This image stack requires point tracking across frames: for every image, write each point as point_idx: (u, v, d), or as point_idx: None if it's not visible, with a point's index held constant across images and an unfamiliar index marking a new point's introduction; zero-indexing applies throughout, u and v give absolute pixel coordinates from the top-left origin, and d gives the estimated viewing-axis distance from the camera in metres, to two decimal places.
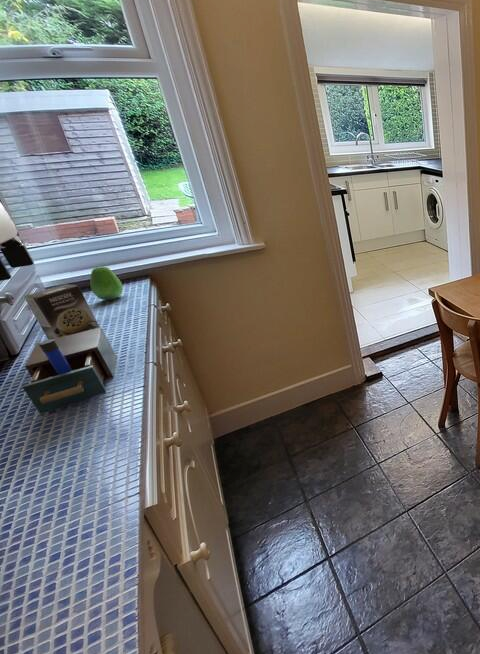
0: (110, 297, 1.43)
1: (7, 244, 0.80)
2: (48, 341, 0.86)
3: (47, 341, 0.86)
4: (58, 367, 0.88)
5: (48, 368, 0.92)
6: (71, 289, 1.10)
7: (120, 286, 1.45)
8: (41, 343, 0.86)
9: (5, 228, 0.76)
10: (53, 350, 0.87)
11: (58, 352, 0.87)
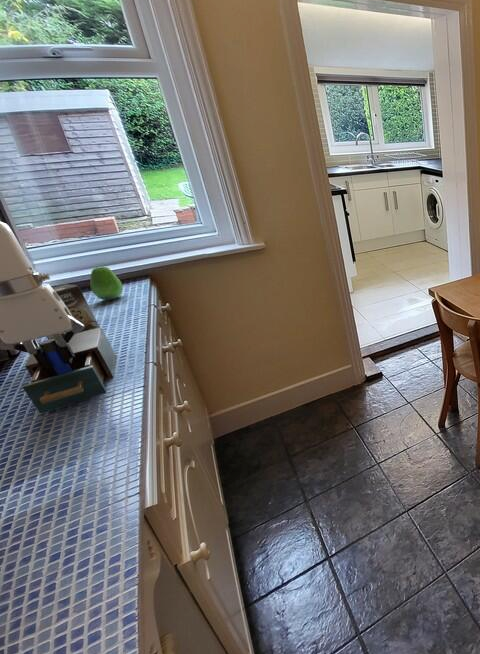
0: (110, 297, 1.43)
1: None
2: (48, 341, 0.86)
3: (47, 341, 0.86)
4: (58, 367, 0.88)
5: None
6: (71, 289, 1.10)
7: (120, 286, 1.45)
8: (41, 343, 0.86)
9: (37, 328, 0.83)
10: (53, 350, 0.87)
11: (58, 352, 0.87)
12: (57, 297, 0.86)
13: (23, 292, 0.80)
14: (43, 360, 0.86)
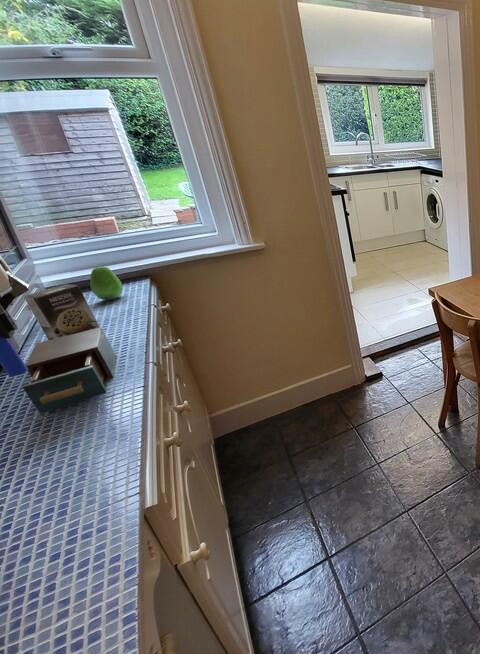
0: (110, 297, 1.43)
1: None
2: None
3: None
4: None
5: (48, 368, 0.92)
6: (71, 289, 1.10)
7: (120, 286, 1.45)
8: None
9: None
10: None
11: None
12: None
13: None
14: None
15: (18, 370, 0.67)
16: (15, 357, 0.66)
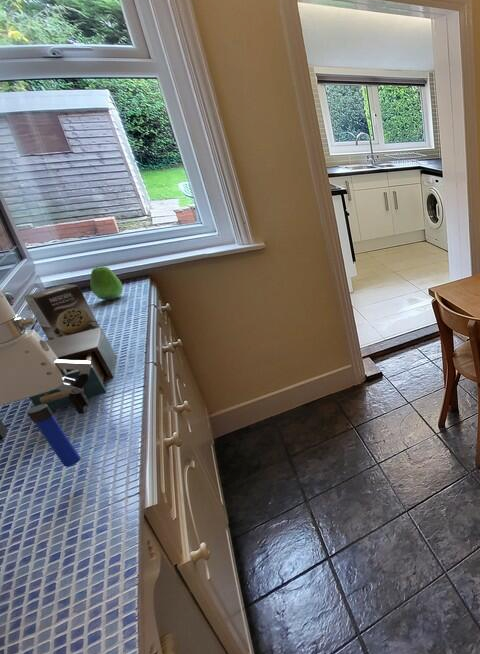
0: (110, 297, 1.43)
1: None
2: (39, 408, 0.68)
3: (38, 408, 0.68)
4: (51, 438, 0.70)
5: None
6: (71, 289, 1.10)
7: (120, 286, 1.45)
8: (30, 411, 0.68)
9: (18, 388, 0.65)
10: (45, 419, 0.69)
11: (52, 420, 0.70)
12: (45, 346, 0.68)
13: (1, 344, 0.62)
14: None
15: (73, 460, 0.73)
16: (70, 449, 0.72)
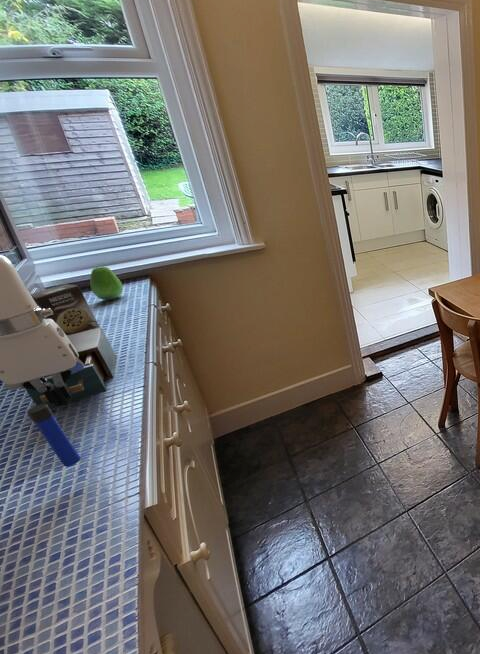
0: (110, 297, 1.43)
1: None
2: (39, 408, 0.68)
3: (38, 408, 0.68)
4: (51, 438, 0.70)
5: None
6: (71, 289, 1.10)
7: (120, 286, 1.45)
8: (30, 411, 0.68)
9: (39, 367, 0.78)
10: (45, 419, 0.69)
11: (52, 420, 0.70)
12: (61, 332, 0.81)
13: (25, 330, 0.74)
14: (53, 397, 0.81)
15: (73, 460, 0.73)
16: (70, 449, 0.72)
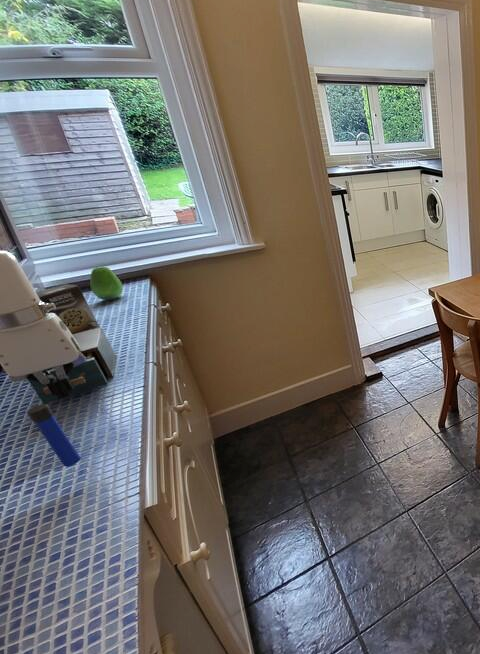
0: (110, 297, 1.43)
1: None
2: (39, 408, 0.68)
3: (38, 408, 0.68)
4: (51, 438, 0.70)
5: None
6: (71, 289, 1.10)
7: (120, 286, 1.45)
8: (30, 411, 0.68)
9: (42, 360, 0.80)
10: (45, 419, 0.69)
11: (52, 420, 0.70)
12: (63, 326, 0.83)
13: (29, 324, 0.77)
14: (56, 389, 0.83)
15: (73, 460, 0.73)
16: (70, 449, 0.72)
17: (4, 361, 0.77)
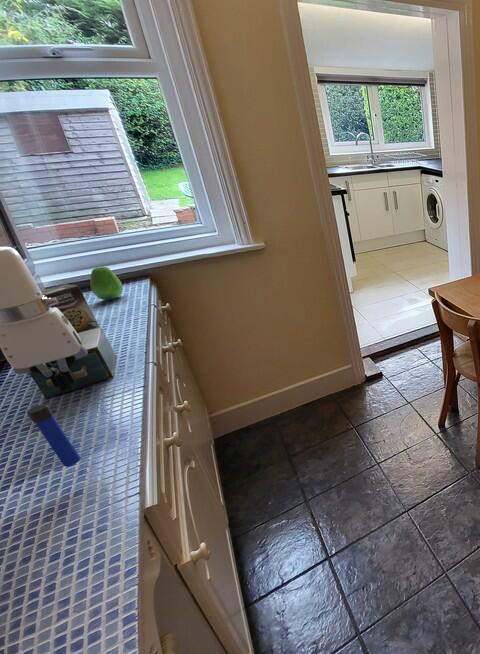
0: (110, 297, 1.43)
1: None
2: (39, 408, 0.68)
3: (38, 408, 0.68)
4: (51, 438, 0.70)
5: None
6: (71, 289, 1.10)
7: (120, 286, 1.45)
8: (30, 411, 0.68)
9: (45, 353, 0.83)
10: (45, 419, 0.69)
11: (52, 420, 0.70)
12: (65, 320, 0.86)
13: (32, 317, 0.79)
14: (58, 381, 0.86)
15: (73, 460, 0.73)
16: (70, 449, 0.72)
17: (8, 354, 0.80)
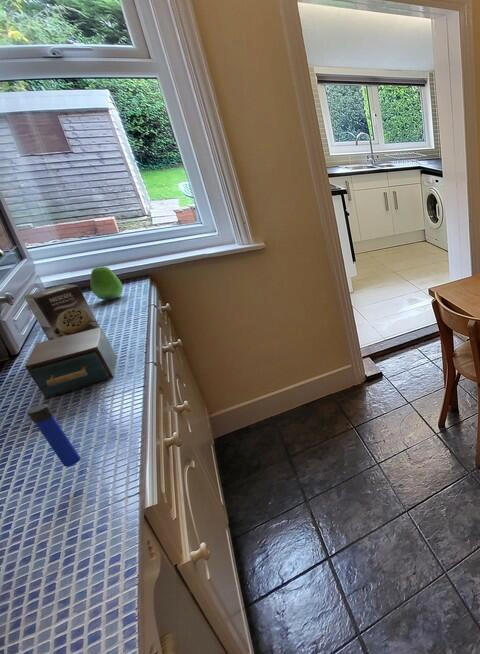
0: (110, 297, 1.43)
1: None
2: (39, 408, 0.68)
3: (38, 408, 0.68)
4: (51, 438, 0.70)
5: None
6: (71, 289, 1.10)
7: (120, 286, 1.45)
8: (30, 411, 0.68)
9: None
10: (45, 419, 0.69)
11: (52, 420, 0.70)
12: None
13: None
14: None
15: (73, 460, 0.73)
16: (70, 449, 0.72)
17: None
